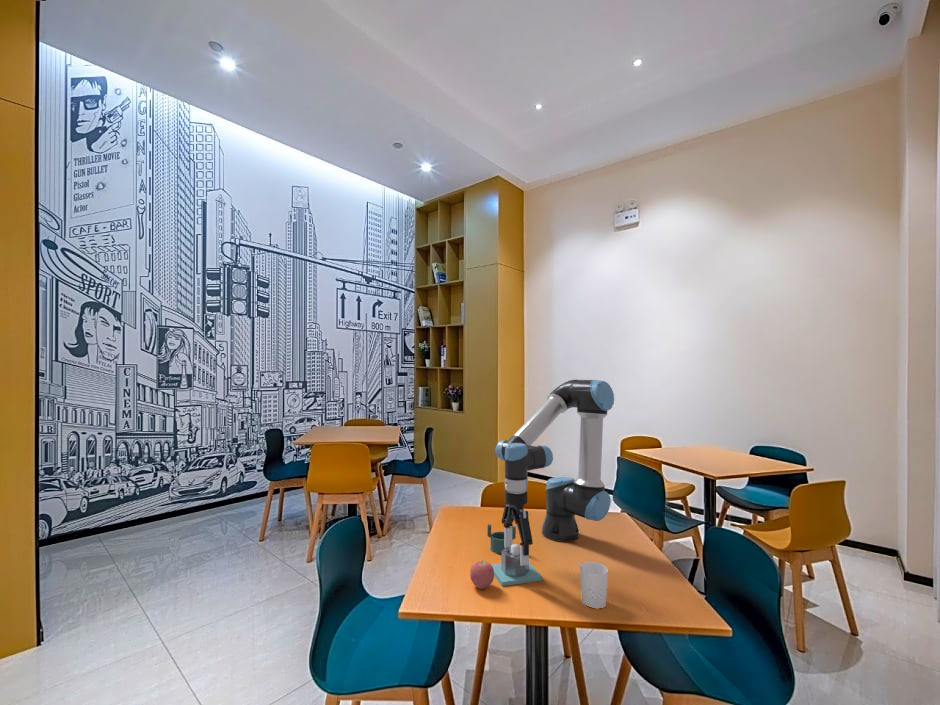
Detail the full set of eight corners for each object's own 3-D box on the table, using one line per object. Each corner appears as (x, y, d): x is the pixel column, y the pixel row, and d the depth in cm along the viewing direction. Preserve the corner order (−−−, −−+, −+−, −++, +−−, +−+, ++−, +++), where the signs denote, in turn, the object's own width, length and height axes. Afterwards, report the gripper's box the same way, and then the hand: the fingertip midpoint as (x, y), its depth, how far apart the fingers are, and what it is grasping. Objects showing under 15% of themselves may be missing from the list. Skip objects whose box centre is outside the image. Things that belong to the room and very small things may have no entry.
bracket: (517, 551, 154) (517, 526, 155) (497, 556, 149) (497, 530, 150) (503, 542, 162) (504, 519, 162) (484, 547, 157) (484, 523, 158)
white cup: (576, 596, 123) (576, 561, 124) (601, 595, 124) (601, 561, 124) (585, 611, 115) (585, 574, 116) (612, 610, 116) (612, 573, 117)
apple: (470, 580, 131) (470, 554, 132) (493, 581, 131) (493, 555, 131) (469, 592, 124) (470, 565, 124) (494, 593, 124) (494, 566, 124)
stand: (526, 563, 144) (527, 537, 144) (542, 580, 132) (542, 551, 133) (489, 568, 140) (489, 540, 140) (502, 586, 128) (502, 555, 129)
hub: (521, 563, 141) (521, 545, 141) (532, 575, 133) (532, 556, 133) (498, 566, 139) (498, 548, 139) (508, 578, 131) (508, 559, 131)
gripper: (492, 481, 148) (492, 541, 147) (521, 503, 124) (521, 574, 123) (512, 480, 150) (511, 539, 149) (543, 501, 127) (543, 571, 126)
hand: (516, 555), depth 136 cm, fingers open, 13 cm apart
